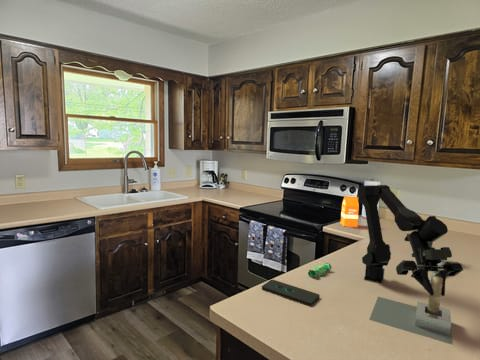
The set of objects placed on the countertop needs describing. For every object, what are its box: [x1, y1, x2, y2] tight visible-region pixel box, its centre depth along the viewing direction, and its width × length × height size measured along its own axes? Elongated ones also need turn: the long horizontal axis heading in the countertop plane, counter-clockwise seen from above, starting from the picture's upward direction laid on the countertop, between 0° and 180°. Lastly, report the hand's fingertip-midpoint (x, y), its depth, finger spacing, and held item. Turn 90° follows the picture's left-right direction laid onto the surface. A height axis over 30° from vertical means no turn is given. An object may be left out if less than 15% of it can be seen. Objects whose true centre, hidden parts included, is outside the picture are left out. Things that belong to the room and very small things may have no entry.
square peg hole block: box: [415, 300, 452, 336], centre depth 99 cm, size 9×9×4 cm
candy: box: [307, 262, 333, 279], centre depth 135 cm, size 12×3×4 cm
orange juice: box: [340, 196, 360, 228], centre depth 212 cm, size 8×9×20 cm
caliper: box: [429, 260, 445, 283], centre depth 135 cm, size 20×1×6 cm, turn 135°
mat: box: [369, 296, 453, 345], centre depth 102 cm, size 22×18×1 cm
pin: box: [427, 275, 443, 315], centre depth 98 cm, size 3×3×12 cm
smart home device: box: [261, 279, 320, 307], centre depth 117 cm, size 8×2×20 cm
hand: (438, 295), depth 97 cm, fingers closed on pin, 3 cm apart
